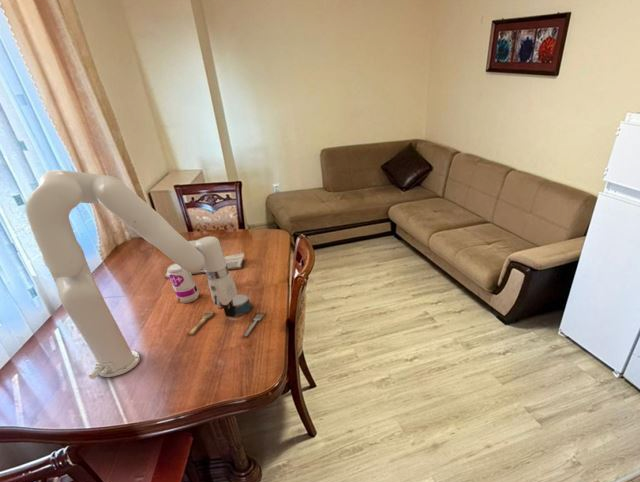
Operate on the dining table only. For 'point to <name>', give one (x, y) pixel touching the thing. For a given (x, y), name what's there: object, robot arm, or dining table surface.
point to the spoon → (202, 321)
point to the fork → (253, 324)
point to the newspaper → (227, 263)
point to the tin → (241, 304)
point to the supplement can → (182, 283)
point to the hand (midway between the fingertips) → (231, 315)
